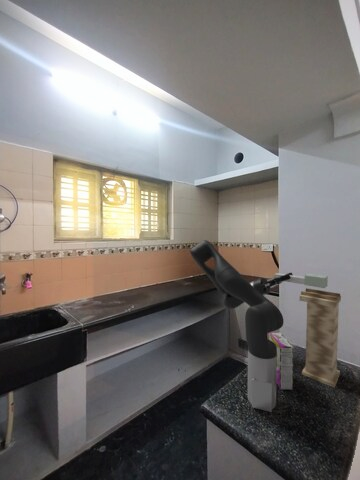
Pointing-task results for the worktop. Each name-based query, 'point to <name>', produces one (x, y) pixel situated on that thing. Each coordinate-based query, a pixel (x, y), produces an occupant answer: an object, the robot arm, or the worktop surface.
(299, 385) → the worktop surface
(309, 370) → the shelf stand
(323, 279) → the handle block
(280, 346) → the candy bar box
